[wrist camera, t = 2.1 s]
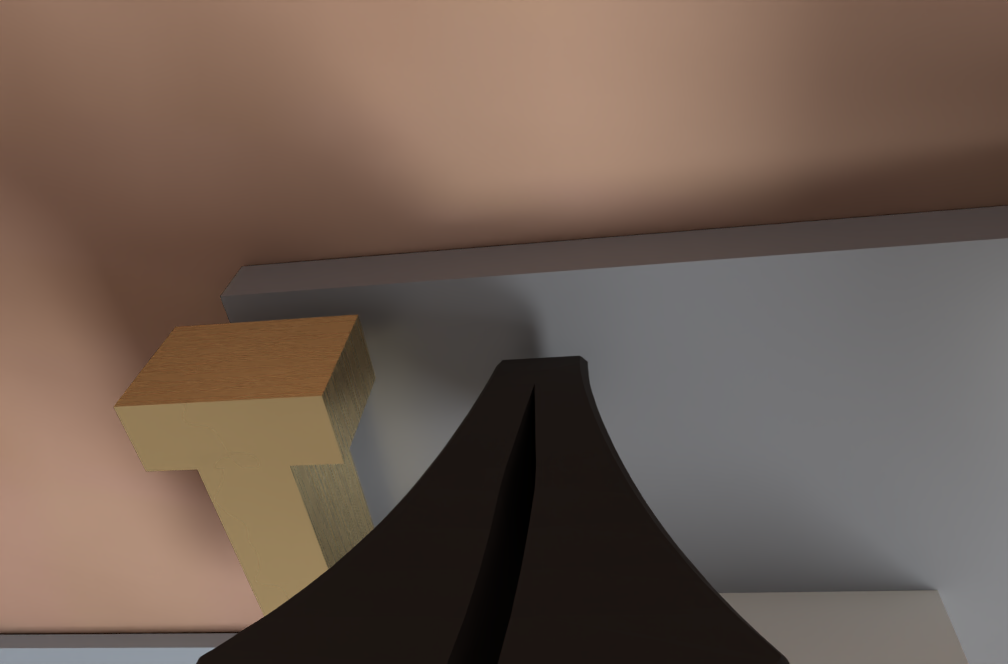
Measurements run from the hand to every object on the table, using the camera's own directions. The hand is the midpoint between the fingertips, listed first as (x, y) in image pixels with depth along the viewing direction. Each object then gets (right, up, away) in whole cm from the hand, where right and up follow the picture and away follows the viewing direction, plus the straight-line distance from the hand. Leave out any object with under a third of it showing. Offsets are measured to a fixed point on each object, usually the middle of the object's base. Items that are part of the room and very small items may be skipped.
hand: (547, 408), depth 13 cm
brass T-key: (-4, -2, +2) cm, 5 cm away
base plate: (+3, -4, +4) cm, 7 cm away
